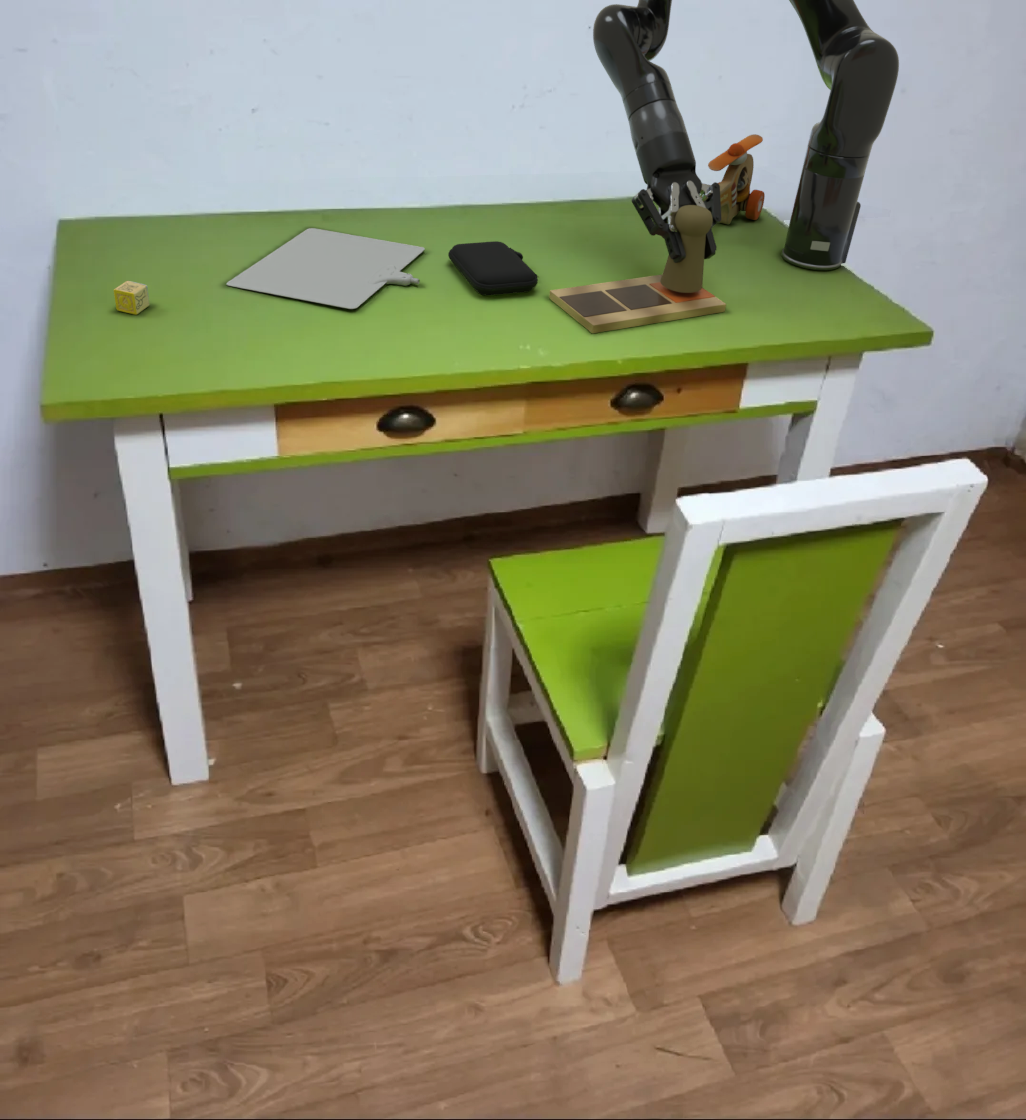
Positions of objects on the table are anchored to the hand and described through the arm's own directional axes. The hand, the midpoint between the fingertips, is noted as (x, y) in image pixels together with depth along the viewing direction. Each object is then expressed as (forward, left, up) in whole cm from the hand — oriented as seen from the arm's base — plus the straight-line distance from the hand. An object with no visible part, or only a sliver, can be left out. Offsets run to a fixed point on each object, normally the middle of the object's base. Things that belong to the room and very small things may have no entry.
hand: (695, 258), depth 148 cm
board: (+7, -2, -7) cm, 10 cm away
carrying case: (+22, -17, -7) cm, 29 cm away
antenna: (+42, -26, -7) cm, 50 cm away
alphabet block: (+72, -22, -7) cm, 76 cm away
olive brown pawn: (0, -2, -5) cm, 5 cm away
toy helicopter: (-25, -26, -7) cm, 37 cm away
